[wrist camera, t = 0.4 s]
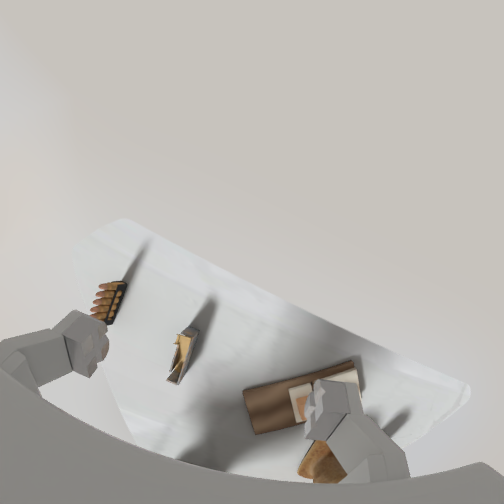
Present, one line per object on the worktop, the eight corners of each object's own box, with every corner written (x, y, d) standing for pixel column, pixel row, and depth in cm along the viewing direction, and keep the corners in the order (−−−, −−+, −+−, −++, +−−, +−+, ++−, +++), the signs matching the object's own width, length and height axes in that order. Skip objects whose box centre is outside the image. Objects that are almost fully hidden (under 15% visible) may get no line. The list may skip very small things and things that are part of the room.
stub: (316, 414, 57) (321, 424, 52) (295, 420, 57) (299, 430, 52) (309, 382, 58) (315, 390, 53) (288, 388, 58) (291, 397, 53)
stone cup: (328, 478, 57) (343, 510, 42) (290, 471, 57) (299, 506, 42) (356, 438, 58) (378, 467, 43) (318, 429, 59) (334, 461, 44)
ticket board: (357, 402, 59) (362, 406, 56) (255, 431, 58) (255, 437, 55) (351, 360, 60) (355, 363, 57) (242, 390, 59) (242, 395, 56)
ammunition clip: (121, 280, 61) (96, 280, 49) (127, 284, 61) (104, 284, 49) (106, 320, 60) (80, 327, 48) (112, 324, 60) (87, 332, 48)
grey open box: (187, 325, 61) (176, 333, 51) (199, 330, 61) (191, 338, 51) (173, 369, 60) (161, 383, 50) (185, 374, 60) (175, 388, 50)
